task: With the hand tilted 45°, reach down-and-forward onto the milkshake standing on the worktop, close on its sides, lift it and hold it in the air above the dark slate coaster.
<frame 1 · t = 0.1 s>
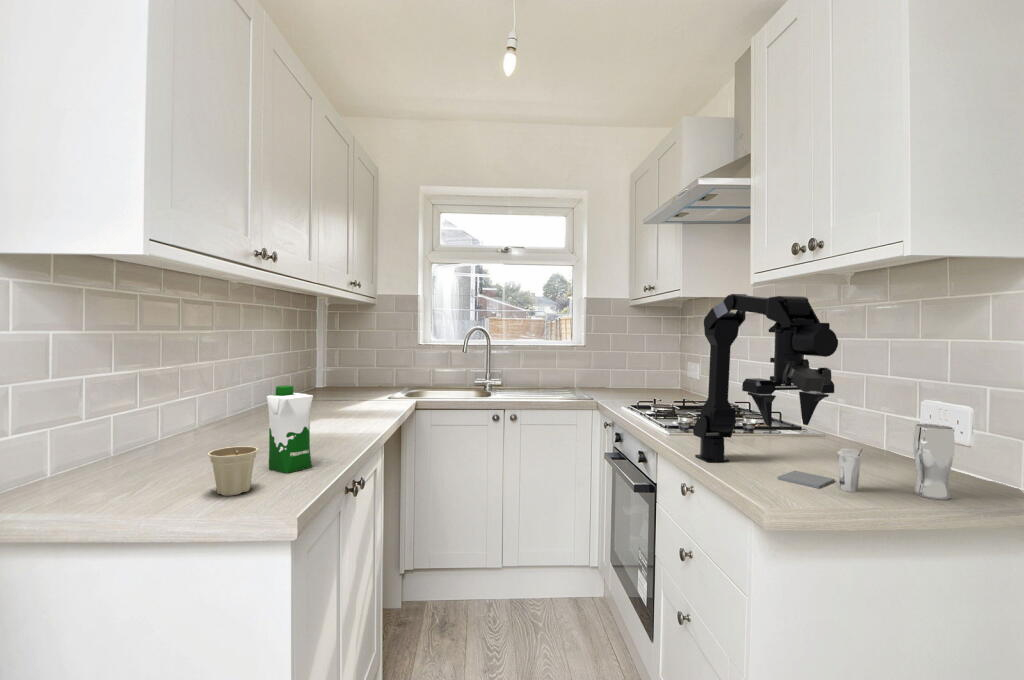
hand: (787, 425, 116), 15 cm above the countertop, tool pointing down, fingers open, 9 cm apart
milk carton: (290, 469, 131), on the countertop
milkshake: (850, 491, 118), on the countertop
coaster: (805, 480, 126), on the countertop
flower pot: (233, 492, 113), on the countertop
beer glass: (931, 496, 115), on the countertop
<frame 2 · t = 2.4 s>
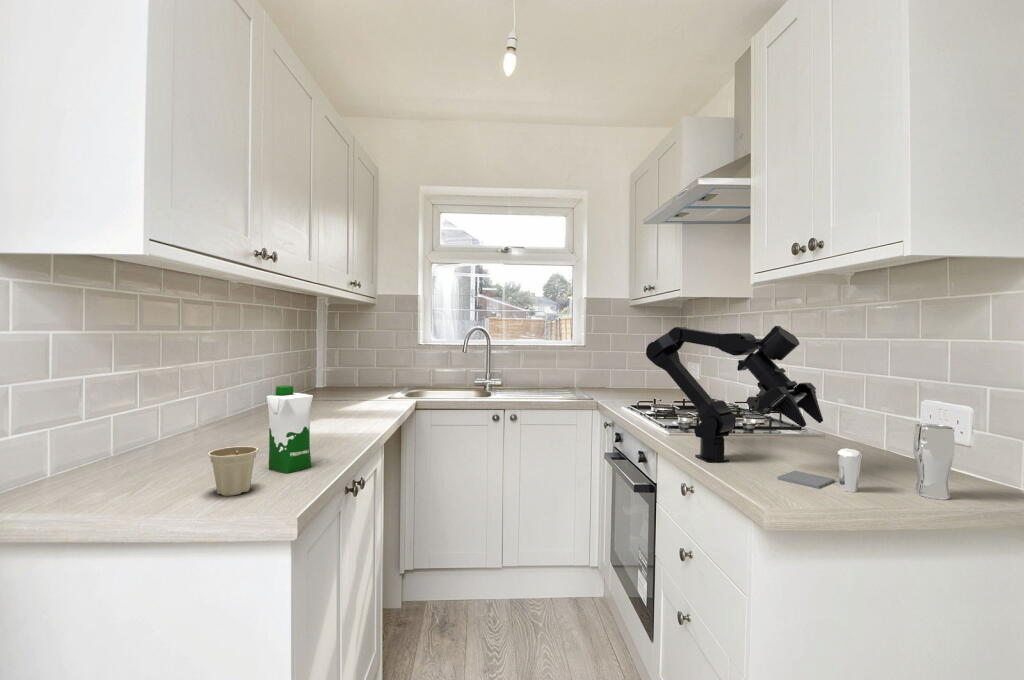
hand: (813, 424, 124), 14 cm above the countertop, tool tilted 45°, fingers open, 9 cm apart
nothing on the countertop moved.
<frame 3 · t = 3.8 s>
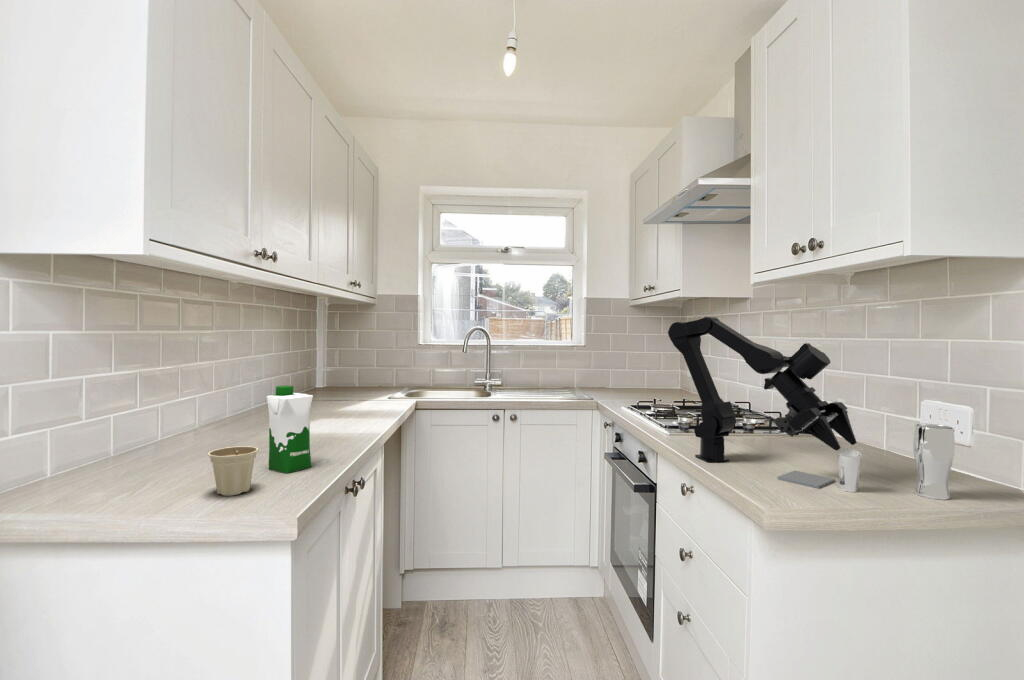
hand: (846, 446, 118), 10 cm above the countertop, tool tilted 45°, fingers open, 9 cm apart
nothing on the countertop moved.
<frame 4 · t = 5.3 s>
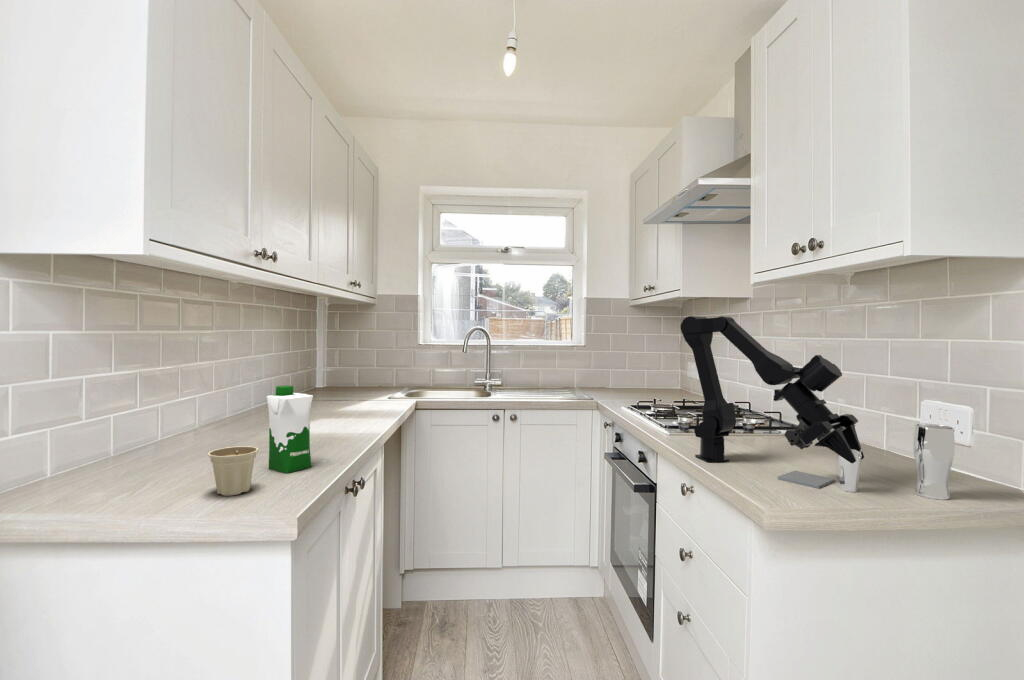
hand: (858, 460, 117), 7 cm above the countertop, tool tilted 45°, fingers closed on milkshake, 4 cm apart
milkshake: (850, 491, 118), on the countertop, touching gripper
everything else where it was.
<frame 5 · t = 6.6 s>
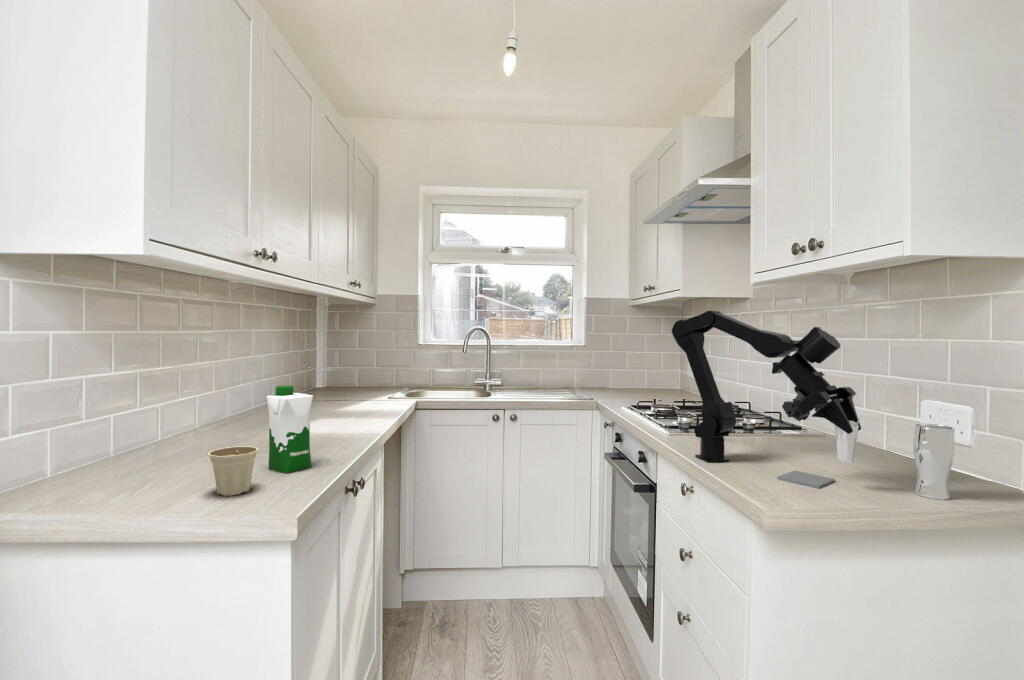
hand: (855, 431, 117), 13 cm above the countertop, tool tilted 45°, fingers closed on milkshake, 4 cm apart
milkshake: (846, 462, 119), point 6 cm above the countertop, touching gripper
everything else where it was.
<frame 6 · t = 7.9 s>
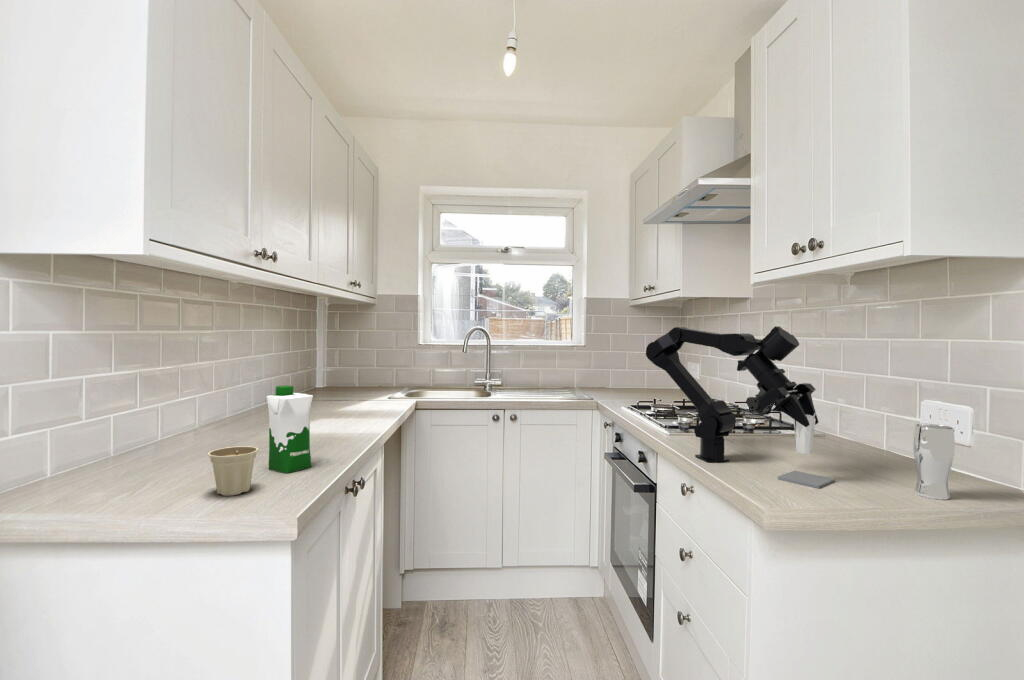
hand: (812, 424, 124), 13 cm above the countertop, tool tilted 45°, fingers closed on milkshake, 4 cm apart
milkshake: (804, 453, 125), point 6 cm above the countertop, touching gripper
everything else where it was.
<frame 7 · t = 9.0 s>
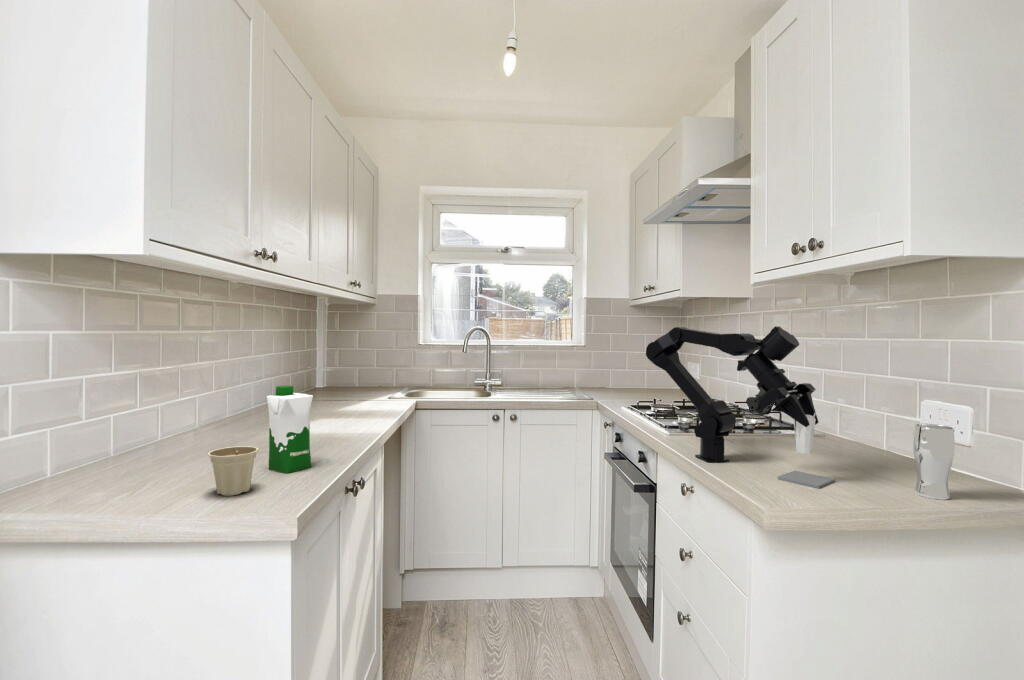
hand: (812, 424, 124), 13 cm above the countertop, tool tilted 45°, fingers closed on milkshake, 4 cm apart
milkshake: (804, 453, 125), point 6 cm above the countertop, touching gripper
everything else where it was.
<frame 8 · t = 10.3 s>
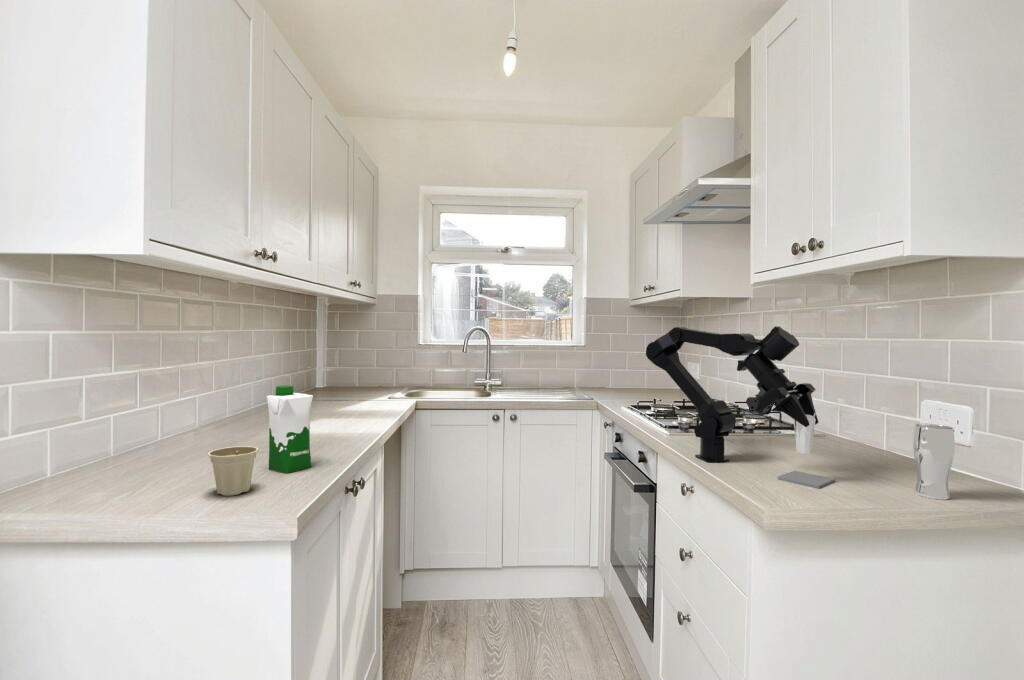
hand: (812, 424, 124), 13 cm above the countertop, tool tilted 45°, fingers closed on milkshake, 4 cm apart
milkshake: (804, 453, 125), point 6 cm above the countertop, touching gripper
everything else where it was.
at the end: the gripper is holding milkshake; milkshake inside the target area on the coaster (0.4 cm from its centre), point 6.2 cm above the coaster's base; milkshake touching gripper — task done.
